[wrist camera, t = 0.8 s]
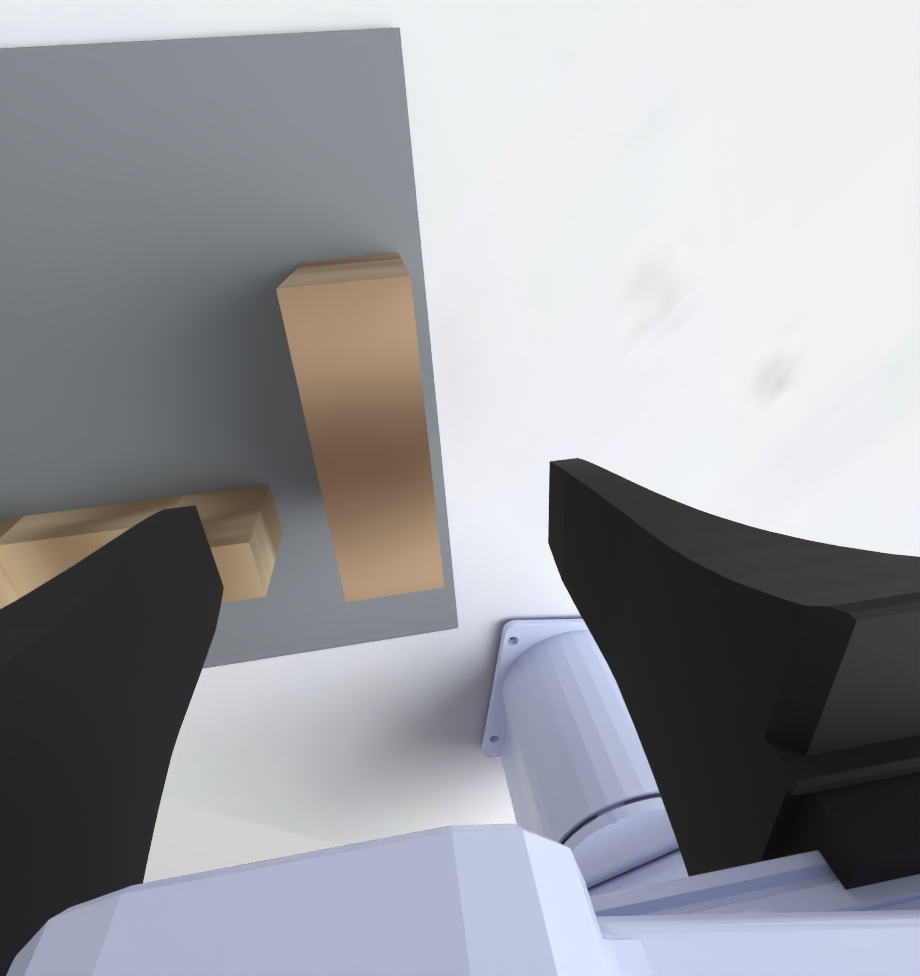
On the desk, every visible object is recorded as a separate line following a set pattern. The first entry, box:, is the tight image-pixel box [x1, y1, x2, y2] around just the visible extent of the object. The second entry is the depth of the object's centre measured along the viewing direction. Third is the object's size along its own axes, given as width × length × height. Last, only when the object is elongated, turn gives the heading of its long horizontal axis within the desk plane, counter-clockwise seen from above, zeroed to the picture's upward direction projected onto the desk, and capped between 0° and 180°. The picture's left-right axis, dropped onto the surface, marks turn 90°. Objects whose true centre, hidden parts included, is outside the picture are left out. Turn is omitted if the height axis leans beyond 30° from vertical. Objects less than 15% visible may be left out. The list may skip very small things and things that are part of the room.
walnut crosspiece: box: [276, 253, 444, 602], centre depth 17 cm, size 9×3×6 cm, turn 4°
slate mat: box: [0, 28, 458, 668], centre depth 20 cm, size 22×18×1 cm
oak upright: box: [0, 484, 283, 609], centre depth 19 cm, size 12×2×4 cm, turn 94°
